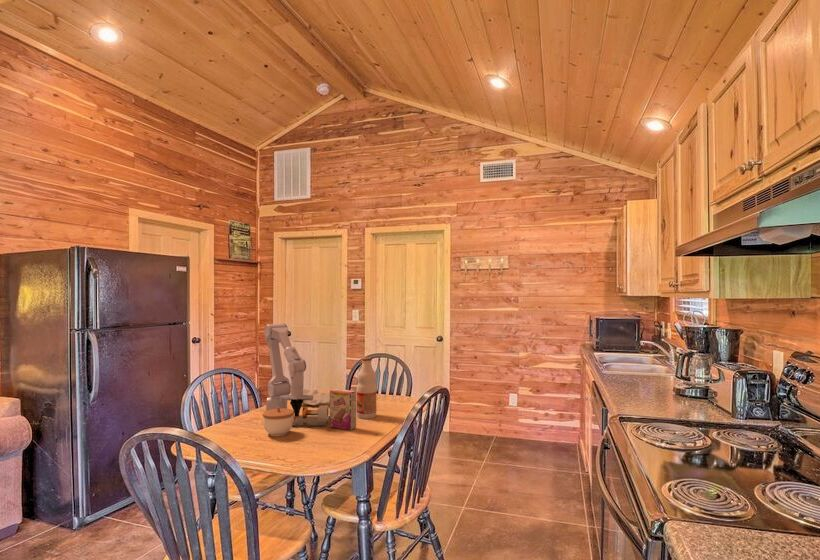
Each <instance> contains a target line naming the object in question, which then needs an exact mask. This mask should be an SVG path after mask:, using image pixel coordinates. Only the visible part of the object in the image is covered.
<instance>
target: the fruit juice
mask: <svg viewBox="0 0 820 560" xmlns="http://www.w3.org/2000/svg"><path fill="white" fill-rule="evenodd" d="M372 362H373V359H372V357H369V356H363V357H361V367H360V370H359V371H358V373H357V376H356V379H357V382H358V383H357V385H356V418H358V419H362V420H363V419H364V420H368V419H369V420H370V419H375V418H376V417H377V384H376V379H377V373H376V372H375V370H374V369H373V366H372V365H373V364H372Z"/></svg>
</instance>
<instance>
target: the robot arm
mask: <svg viewBox="0 0 820 560" xmlns="http://www.w3.org/2000/svg"><path fill="white" fill-rule="evenodd" d="M263 332H264V333H263V334H264V341H265V342H266V343H267V346H268V351H269V352H268V353H269V361H270V367H271V374H272V377H271V379H269V381H268V382H267V394H268V397H267V398H266V404H265V405H266V407H265V409H266V410H265V411H267V410H271V409H277V407H280V408H286V409H288V401H290V402H289V404H290V406H291V409H292V410H293V411H294V417H295V418H297V417H298V416H300V412H301V411H300V410H301V408H302V405H303V404H302V403H303V401H304V400H310V401H313V395H303V390H304V383H305V381H304V378H305V375H304V372H305V371H306V369H307V362H306V361H305V359H304V358H303V357H301V356H300V355H299V353H298V350H297V349H296V347H294V346H292V343H291V341H290V338H289V336H288V334H289V328H288V324H287V323H284V322H283V323H272V324H270V323H267V324H266V325H265V327H264V330H263ZM280 346H282V347H283V350H284V352H283V355H284V357H285V359H286V362H287V364H288V366H287V369H288V372H289V377H290V378H288V377H286V376H285V375H284V368H283V363H282V356H281V350H280Z"/></svg>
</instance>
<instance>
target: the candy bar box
mask: <svg viewBox="0 0 820 560" xmlns="http://www.w3.org/2000/svg"><path fill="white" fill-rule="evenodd" d="M329 394H330V407H329V416H330V419H329V428H333V429H339V430H345V431H353V430H355V429H356V428H357V390H350V389H343V388H334V389H331V390H329Z"/></svg>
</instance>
